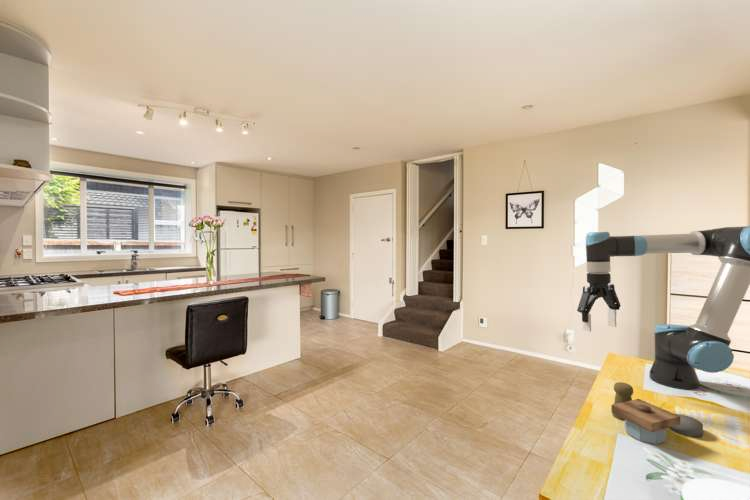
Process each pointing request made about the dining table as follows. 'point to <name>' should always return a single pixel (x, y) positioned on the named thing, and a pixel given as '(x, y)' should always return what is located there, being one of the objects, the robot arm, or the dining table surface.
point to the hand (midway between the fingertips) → (599, 328)
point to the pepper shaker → (622, 394)
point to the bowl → (645, 434)
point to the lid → (646, 415)
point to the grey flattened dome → (688, 427)
